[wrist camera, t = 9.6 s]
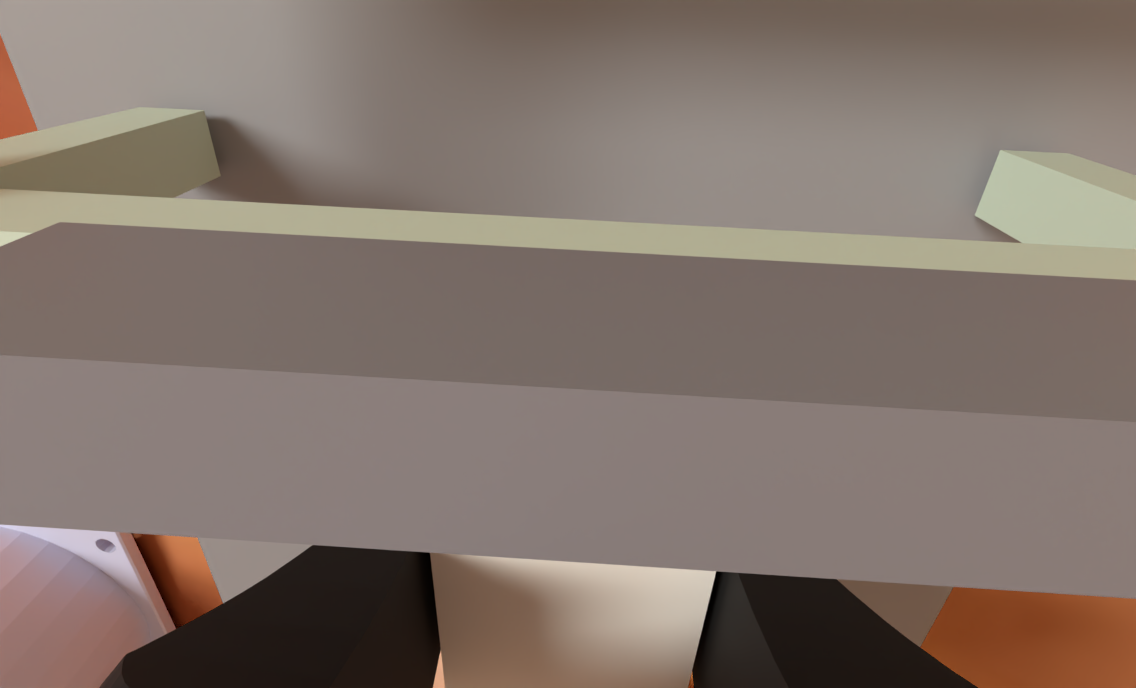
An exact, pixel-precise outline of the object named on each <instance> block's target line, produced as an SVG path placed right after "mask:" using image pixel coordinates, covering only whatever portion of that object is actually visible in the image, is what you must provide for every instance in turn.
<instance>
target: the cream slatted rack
mask: <svg viewBox="0 0 1136 688" xmlns="http://www.w3.org/2000/svg"><path fill="white" fill-rule="evenodd" d="M220 176H221V175H220V171H219V167H218V163H217V159H216V155H215V151H214V147H213V143H212V139H211V135H210V131H209V128H208V124H207V120H206V116H205V112H204V110H189V109H169V108H149V107H138V108H134V109H129V110H125V111H121V112H116V113H112V114H108V115H104V116H99V117H95V118H91V119H86V120H82V121H78V122H74V123H69V124H65V125H61V126H56V127H52V128H48V129H44V130H39V131H35V132H31V133H26V134H22V135H18V136H14V137H9V138H5V139H1V140H0V525H15V526H30V527H46V528H61V529H76V530H91V531H107V532H122V533H137V534H153V535H168V536H183V537H199V538H214V539H229V540H245V541H260V542H275V543H290V544H306V545H321V546H336V547H352V548H367V549H382V550H398V551H413V552H428V553H444V554H459V555H474V556H490V557H505V558H520V559H535V560H551V561H566V562H581V563H597V564H612V565H627V566H643V567H658V568H673V569H689V570H704V571H719V572H734V573H750V574H765V575H780V576H796V577H811V578H826V579H842V580H857V581H872V582H888V583H903V584H918V585H933V586H949V587H964V588H979V589H995V590H1010V591H1025V592H1041V593H1056V594H1071V595H1087V596H1102V597H1117V598H1133V599H1136V175H1133V174H1130V173H1127V172H1124V171H1121V170H1118V169H1115V168H1112V167H1109V166H1106V165H1103V164H1100V163H1097V162H1093V161H1090V160H1087V159H1084V158H1081V157H1078V156H1075V155H1072V154H1069V153H1051V152H1031V151H1011V150H1000V152H999V155H998V157H997V160H996V162H995V165H994V167H993V170H992V172H991V175H990V177H989V180H988V183H987V185H986V188H985V190H984V193H983V195H982V198H981V200H980V203H979V205H978V208H977V211H976V213H975V216H976V217H978V218H980V219H982V220H983V221H985V222H987V223H989V224H990V225H992V226H994V227H995V228H997V229H999V230H1001V231H1002V232H1004V233H1006V234H1008V235H1009V236H1011V237H1013V238H1015V239H1016V240H1018V241H1020V242H1021V243H1010V242H991V241H973V240H954V239H935V238H916V237H897V236H878V235H860V234H841V233H822V232H803V231H784V230H765V229H747V228H728V227H709V226H690V225H671V224H652V223H634V222H615V221H596V220H577V219H558V218H539V217H521V216H502V215H483V214H464V213H445V212H426V211H408V210H389V209H370V208H351V207H332V206H313V205H295V204H276V203H257V202H238V201H219V200H200V199H182V198H175V197H177V196H179V195H181V194H183V193H185V192H188V191H190V190H192V189H194V188H196V187H198V186H201V185H203V184H205V183H207V182H209V181H211V180H213V179H216V178H218V177H220Z"/></svg>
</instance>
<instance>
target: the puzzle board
mask: <svg viewBox="0 0 1136 688" xmlns="http://www.w3.org/2000/svg"><path fill="white" fill-rule="evenodd" d="M0 34H1V37H2V39H3V42H4V44H5V47H6V50H7V52H8V55H9V57H10V60H11V62H12V65H13V67H14V70H15V73H16V75H17V78H18V80H19V83H20V85H21V88H22V90H23V93H24V96H25V98H26V101H27V103H28V106H29V108H30V111H31V113H32V116H33V119H34V121H35V124H36V126H37V129H38V131H39V130H44V129H48V128H52V127H56V126H61V125H65V124H69V123H74V122H78V121H82V120H86V119H91V118H95V117H99V116H104V115H108V114H112V113H116V112H121V111H125V110H129V109H134V108H138V107H149V108H169V109H189V110H204V112H205V116H206V120H207V124H208V128H209V131H210V135H211V139H212V143H213V147H214V151H215V155H216V159H217V163H218V167H219V171H220V175H221V176H220V177H218V178H216V179H213V180H211V181H209V182H207V183H205V184H203V185H201V186H198V187H196V188H194V189H192V190H190V191H188V192H185V193H183V194H181V195H179V196H177V197H175V198H182V199H200V200H219V201H238V202H257V203H276V204H295V205H313V206H332V207H351V208H370V209H389V210H408V211H426V212H445V213H464V214H483V215H502V216H521V217H539V218H558V219H577V220H596V221H615V222H634V223H652V224H671V225H690V226H709V227H728V228H747V229H765V230H784V231H803V232H822V233H841V234H860V235H878V236H897V237H916V238H935V239H954V240H973V241H991V242H1010V243H1021V242H1020V241H1018V240H1016V239H1015V238H1013V237H1011V236H1009V235H1008V234H1006V233H1004V232H1002V231H1001V230H999V229H997V228H995V227H994V226H992V225H990V224H989V223H987V222H985V221H983V220H982V219H980V218H978V217H976V216H975V213H976V211H977V208H978V205H979V203H980V200H981V198H982V195H983V193H984V190H985V188H986V185H987V183H988V180H989V177H990V175H991V172H992V170H993V167H994V165H995V162H996V160H997V157H998V155H999V152H1000V150H1011V151H1031V152H1051V153H1069V154H1072V155H1075V156H1078V157H1081V158H1084V159H1087V160H1090V161H1093V162H1097V163H1100V164H1103V165H1106V166H1109V167H1112V168H1115V169H1118V170H1121V171H1124V172H1127V173H1130V174H1133V175H1136V0H0ZM197 538H198V540H199V543H200V545H201V548H202V550H203V553H204V556H205V558H206V561H207V563H208V566H209V568H210V571H211V573H212V576H213V579H214V581H215V584H216V586H217V589H218V591H219V594H220V596H221V599H222V602H223V603H225V602H226V601H228V600H230V599H232V598H233V597H235V596H237V595H239V594H240V593H242V592H243V591H245V590H247V589H248V588H250V587H252V586H253V585H255V584H256V583H258V582H260V581H261V580H263V579H264V578H266V577H267V576H269V575H271V574H272V573H273V572H275V571H276V570H278V569H279V568H281V567H282V566H284V565H285V564H286V563H288V562H289V561H291V560H292V559H294V558H295V557H297V556H298V555H299V554H301V553H302V552H303V551H305V550H306V549H308V548H309V547H310V546H312V545H306V544H290V543H275V542H260V541H245V540H229V539H214V538H199V537H197ZM837 580H838V581H839V582H840V583H841V584H843V585H844V586H845V587H846V588H847V589H848V590H849V591H850V592H852V593H853V594H854V595H855V596H856V597H857V598H859V599H860V600H861V601H862V602H863V603H865V604H866V605H867V606H868V607H869V608H870V609H872V610H873V611H874V612H875V613H876V614H878V615H879V616H880V617H881V618H882V619H884V620H885V621H886V622H887V623H889V624H890V625H891V626H892V627H894V628H895V629H896V630H898V631H899V632H900V633H901V634H903V635H904V636H905V637H907V638H908V639H909V640H911V641H912V642H913V643H915V644H916V645H917V646H919V647H921V645H922V643H923V641H924V639H925V638H926V636H927V634H928V632H929V630H930V628H931V627H932V625H933V623H934V621H935V619H936V618H937V616H938V614H939V612H940V610H941V609H942V607H943V605H944V603H945V601H946V600H947V598H948V596H949V594H950V592H951V591H952V589H953V587H949V586H933V585H918V584H903V583H888V582H872V581H857V580H842V579H837Z"/></svg>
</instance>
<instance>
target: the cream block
mask: <svg viewBox="0 0 1136 688" xmlns="http://www.w3.org/2000/svg"><path fill="white" fill-rule="evenodd" d="M430 558H431V567H432V576H433V585H434V593H435V602H436V611H437V620H438V629H439V638H440V647H441V655H442V664H443V673H444V682H445V688H688V685H689V681H690V677H691V673H692V669H693V664H694V660H695V656H696V652H697V648H698V644H699V640H700V636H701V632H702V628H703V624H704V619H705V615H706V611H707V607H708V603H709V599H710V595H711V591H712V587H713V583H714V579H715V574H716V571H704V570H689V569H673V568H658V567H643V566H627V565H612V564H597V563H581V562H566V561H551V560H535V559H520V558H505V557H490V556H474V555H459V554H444V553H430Z"/></svg>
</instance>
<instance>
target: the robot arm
mask: <svg viewBox="0 0 1136 688" xmlns="http://www.w3.org/2000/svg"><path fill="white" fill-rule="evenodd" d="M440 651H441V647H440V638H439V629H438V620H437V611H436V602H435V593H434V585H433V576H432V567H431V558H430V553H428V552H413V551H398V550H382V549H367V548H352V547H336V546H321V545H312V546H310V547H309V548H308V549H306V550H305V551H303V552H302V553H301V554H299V555H298V556H297V557H295V558H294V559H292V560H291V561H289V562H288V563H286V564H285V565H284V566H282V567H281V568H279V569H278V570H276V571H275V572H273V573H272V574H271V575H269V576H267V577H266V578H264V579H263V580H261V581H260V582H258V583H256V584H255V585H253V586H252V587H250V588H248V589H247V590H245V591H243V592H242V593H240V594H239V595H237V596H235V597H233V598H232V599H230V600H228V601H226V602H225V603H223V604H221V605H220V606H218V607H216V608H214V609H213V610H211V611H209V612H207V613H206V614H204V615H202V616H200V617H198V618H196V619H195V620H193V621H191V622H189V623H187V624H185V625H183V626H181V627H179V628H177V629H176V628H175V626H174V623H173V621H172V619H171V617H170V615H169V613H168V611H167V608H166V606H165V604H164V602H163V600H162V598H161V596H160V594H159V591H158V589H157V587H156V585H155V583H154V581H153V579H152V576H151V574H150V572H149V570H148V568H147V566H146V564H145V562H144V559H143V557H142V555H141V553H140V551H139V549H138V547H137V544H136V542H135V540H134V538H133V536H132V534H131V533H122V532H107V531H91V530H76V529H61V528H46V527H30V526H15V525H0V688H433V685H434V680H435V675H436V670H437V665H438V660H439V655H440ZM692 673H693V683H694V688H978V687H976V686H975V685H973V684H972V683H970V682H969V681H967V680H965V679H964V678H962V677H961V676H959V675H958V674H956V673H955V672H953V671H952V670H950V669H949V668H948V667H946V666H945V665H943V664H942V663H941V662H939V661H938V660H936V659H935V658H934V657H932V656H931V655H930V654H928V653H927V652H926V651H924V650H923V649H921V648H920V647H919V646H917V645H916V644H915V643H913V642H912V641H911V640H909V639H908V638H907V637H905V636H904V635H903V634H901V633H900V632H899V631H898V630H896V629H895V628H894V627H892V626H891V625H890V624H889V623H887V622H886V621H885V620H884V619H882V618H881V617H880V616H879V615H878V614H876V613H875V612H874V611H873V610H872V609H870V608H869V607H868V606H867V605H866V604H865V603H863V602H862V601H861V600H860V599H859V598H857V597H856V596H855V595H854V594H853V593H852V592H850V591H849V590H848V589H847V588H846V587H845V586H844V585H843V584H841V583H840V582H839V581H838V580H837V579H826V578H811V577H796V576H780V575H765V574H750V573H734V572H719V571H716V574H715V579H714V583H713V587H712V591H711V595H710V599H709V603H708V607H707V611H706V615H705V619H704V624H703V628H702V632H701V636H700V640H699V644H698V648H697V652H696V656H695V660H694V664H693V669H692Z"/></svg>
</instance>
